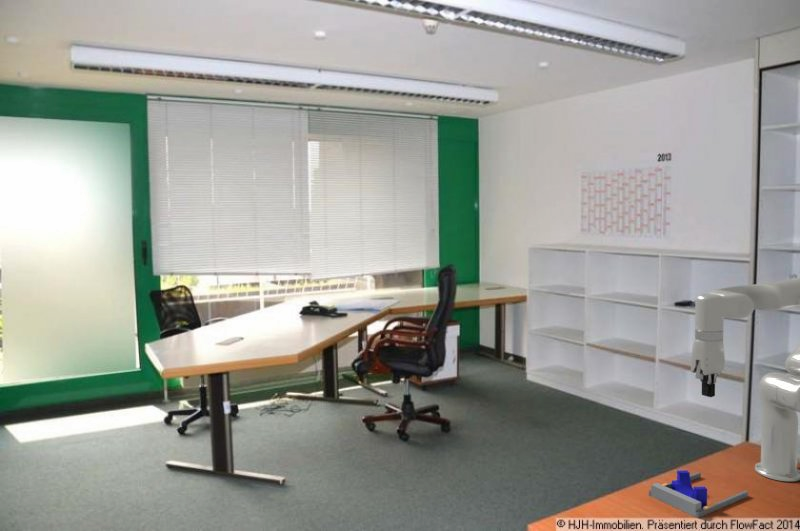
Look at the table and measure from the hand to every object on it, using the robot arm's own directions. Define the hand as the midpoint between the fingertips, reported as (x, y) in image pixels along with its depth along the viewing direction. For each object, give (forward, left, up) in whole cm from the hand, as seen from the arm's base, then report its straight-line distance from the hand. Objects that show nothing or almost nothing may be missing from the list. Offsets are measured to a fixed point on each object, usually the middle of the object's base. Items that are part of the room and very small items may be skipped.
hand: (708, 395), depth 180 cm
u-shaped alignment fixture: (+10, +4, -27) cm, 29 cm away
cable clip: (+14, +4, -28) cm, 31 cm away
